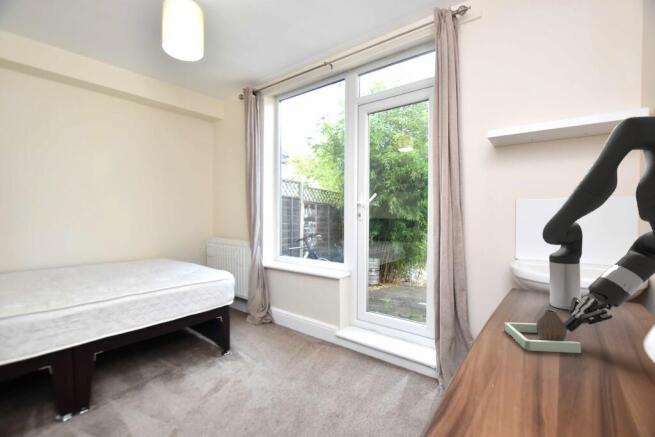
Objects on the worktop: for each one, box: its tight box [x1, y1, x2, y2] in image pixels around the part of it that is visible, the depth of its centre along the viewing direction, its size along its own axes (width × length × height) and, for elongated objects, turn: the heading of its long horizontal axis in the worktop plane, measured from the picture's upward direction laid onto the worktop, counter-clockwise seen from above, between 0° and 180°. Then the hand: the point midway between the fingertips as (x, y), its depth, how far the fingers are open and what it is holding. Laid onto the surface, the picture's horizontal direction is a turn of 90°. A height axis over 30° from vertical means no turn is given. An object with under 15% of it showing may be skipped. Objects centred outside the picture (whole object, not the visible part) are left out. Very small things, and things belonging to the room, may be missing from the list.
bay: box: [503, 321, 582, 354], centre depth 84 cm, size 14×13×2 cm
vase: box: [536, 309, 568, 341], centre depth 83 cm, size 7×7×9 cm
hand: (566, 328), depth 82 cm, fingers closed
